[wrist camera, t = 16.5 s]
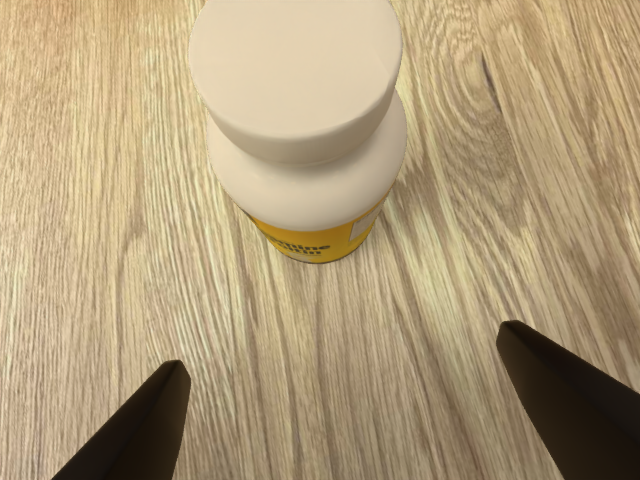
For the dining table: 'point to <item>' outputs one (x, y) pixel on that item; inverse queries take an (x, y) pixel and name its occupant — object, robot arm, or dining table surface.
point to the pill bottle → (302, 115)
